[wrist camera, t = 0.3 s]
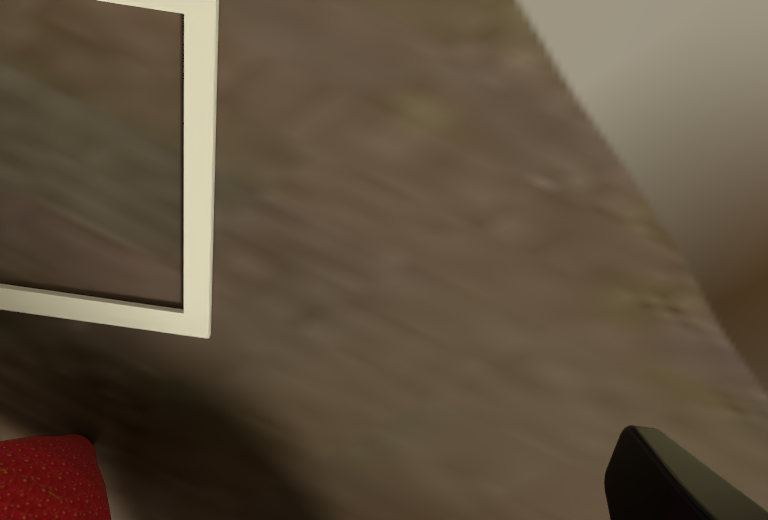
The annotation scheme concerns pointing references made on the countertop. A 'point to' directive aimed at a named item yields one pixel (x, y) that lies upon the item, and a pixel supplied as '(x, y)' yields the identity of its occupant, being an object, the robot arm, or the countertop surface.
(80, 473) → the strawberry
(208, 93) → the print frame
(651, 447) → the robot arm
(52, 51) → the countertop surface
